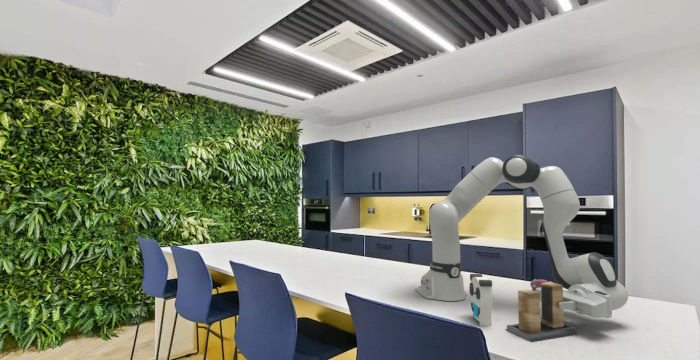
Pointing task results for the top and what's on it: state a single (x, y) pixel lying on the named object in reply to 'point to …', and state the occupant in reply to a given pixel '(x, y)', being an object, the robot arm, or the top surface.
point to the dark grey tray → (543, 332)
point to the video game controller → (537, 283)
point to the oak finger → (552, 304)
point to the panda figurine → (481, 298)
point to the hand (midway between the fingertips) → (549, 302)
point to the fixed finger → (529, 311)
